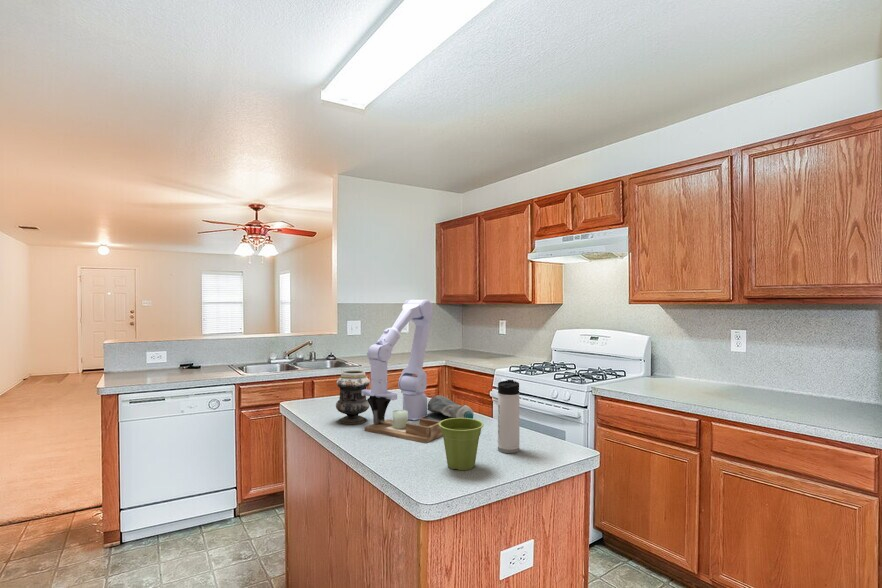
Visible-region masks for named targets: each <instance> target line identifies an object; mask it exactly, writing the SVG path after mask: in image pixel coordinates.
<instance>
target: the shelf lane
mask: <svg viewBox="0 0 882 588" xmlns="http://www.w3.org/2000/svg"><path fill="white" fill-rule="evenodd" d="M418 420H419V423H418V424H416V423H410V422H408V423H407V424H406V428H404V429H396V428H393V425H391V424H385V423H379V424H373V423H372V424H369V425H367V426H364V431H365V432H369V433H374V434H378V435H379V434H380V435H383V436H388V437H395V438H399V439H404V440H409V441H413V442H418V443H424V444H427V443H430V442H431V441H433V440H435V439H438V438H441V437H443V435H442V431H441V427H440V426H439V422H440V421H441V420H434V419H428V418H424V417H423V418H420V419H418ZM385 421H386V422H392V423H393V419H385Z"/></svg>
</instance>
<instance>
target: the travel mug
mask: <svg viewBox="0 0 882 588" xmlns="http://www.w3.org/2000/svg"><path fill="white" fill-rule="evenodd" d="M497 389H498V390H497V450H498V452H499V453H500V452H501V453H503V454H517V453H519V451H520V383H519V382H518V381H516V380H514V379H507V380H502V381H499V382H498V383H497Z"/></svg>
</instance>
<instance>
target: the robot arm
mask: <svg viewBox="0 0 882 588" xmlns="http://www.w3.org/2000/svg"><path fill="white" fill-rule="evenodd" d="M401 308H402V311H401V312H400V313H399V315H398V317H397V319H395V321H394V323H393V324H392V326H391V327H387V328H385V329H384V330H383V333H382V335H381V336H380V337H379V338H378V339H377V341H376V342H375V343H374V344H371V345H370V346H369V348H368V350H367V352H366V356H367V358H368V359H369V365H370V389H367V388H366V389H364V390H361V395H362V396H366V397H369V398H366V400H367V401H368V403H369V404H370V406H369V408H371V411H372V413H373V410H377V409H378V417H379V420H381V419H384V416H386V413H387V412H386V411H387V409H388V406H389V404H390V402H391V401H396V400H398V393H395V392H391V391H389V390H388V361H389V360H390V359H391V356H392V352H393V349H394V347H395V346H396V344H397V343H398V341H399V340H400V338H401V334H400V333H401V332H403V330H404V329H405V327H407V325H408V324H409V322H410V321H412V322H413V323H414V325H415V328H414V329H415V330H414V334H413V339H412V345H411V349H410V355H409V360H408V364H407V366H406V367H404V369H402V371H401V375H400V377H399V378H398V382H397V384H398V385H397V386H398V388H399V390H400V391H401V394H402V410H406V411H408V421H409V420H410V421H417V420H419V419H420V418H423V419H424V418H425V417H428V416H430V413H428V397H427V394H426V393H425V391H426V390H427V386H428V381H427V377H428V374H427V373H426V371H425V370H424V369H423V367H424V366H423V365H424V362H425V356H426V352H427V351H426V349H427V345H428V340H429V335H430V329H431V323H432V318H433V317H432V316H433V312H434V306H433V304H432V302H431V301H430V300H429V299H425V298H424V299H407V300H405V302H404V303H403V305H401Z"/></svg>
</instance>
